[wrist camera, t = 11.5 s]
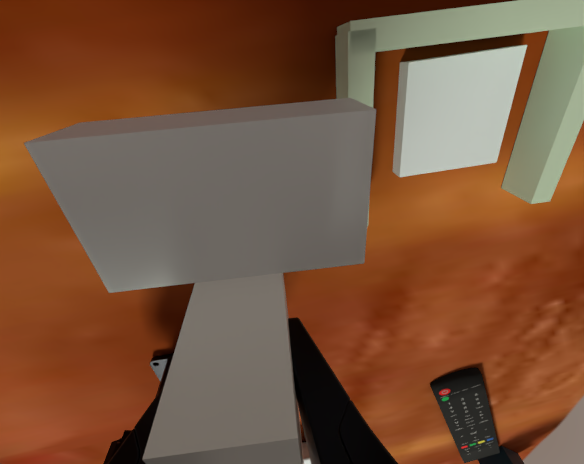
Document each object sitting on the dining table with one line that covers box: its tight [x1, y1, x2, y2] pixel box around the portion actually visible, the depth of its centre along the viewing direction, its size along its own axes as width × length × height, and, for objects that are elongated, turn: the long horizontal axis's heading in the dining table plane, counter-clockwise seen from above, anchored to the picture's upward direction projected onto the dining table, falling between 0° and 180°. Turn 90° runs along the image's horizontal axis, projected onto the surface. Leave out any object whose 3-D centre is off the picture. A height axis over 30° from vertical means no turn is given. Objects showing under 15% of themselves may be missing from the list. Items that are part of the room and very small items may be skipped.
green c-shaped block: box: [335, 0, 584, 226], centre depth 15 cm, size 10×12×2 cm
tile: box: [393, 45, 527, 177], centre depth 16 cm, size 6×6×2 cm
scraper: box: [24, 98, 376, 464], centre depth 8 cm, size 11×7×6 cm, turn 4°
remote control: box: [430, 368, 500, 463], centre depth 37 cm, size 5×24×1 cm, turn 27°
